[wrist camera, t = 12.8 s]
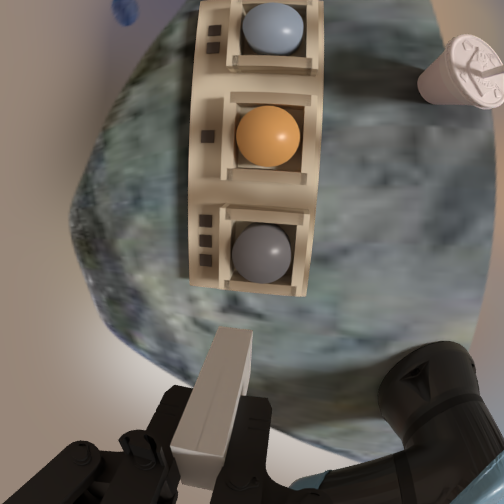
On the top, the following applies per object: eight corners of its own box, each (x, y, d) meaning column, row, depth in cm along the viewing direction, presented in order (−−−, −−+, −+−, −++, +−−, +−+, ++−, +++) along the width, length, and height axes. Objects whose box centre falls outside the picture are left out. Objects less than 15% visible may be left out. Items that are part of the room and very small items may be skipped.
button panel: (305, 288, 31) (306, 308, 27) (195, 277, 33) (182, 295, 28) (321, 9, 22) (325, -11, 17) (205, 9, 23) (193, -10, 19)
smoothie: (403, 106, 24) (481, 80, 11) (406, 52, 22) (473, 1, 9) (454, 124, 24) (542, 119, 10) (456, 72, 21) (536, 43, 8)
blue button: (301, 60, 22) (303, 51, 19) (245, 58, 22) (240, 49, 20) (302, 15, 20) (303, 3, 18) (248, 14, 21) (244, 2, 18)
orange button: (297, 167, 25) (297, 169, 23) (240, 164, 25) (235, 165, 23) (300, 112, 23) (301, 107, 21) (242, 109, 24) (237, 104, 22)
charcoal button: (288, 274, 28) (288, 286, 26) (236, 270, 29) (231, 280, 26) (293, 223, 27) (293, 230, 24) (237, 219, 27) (232, 225, 25)
